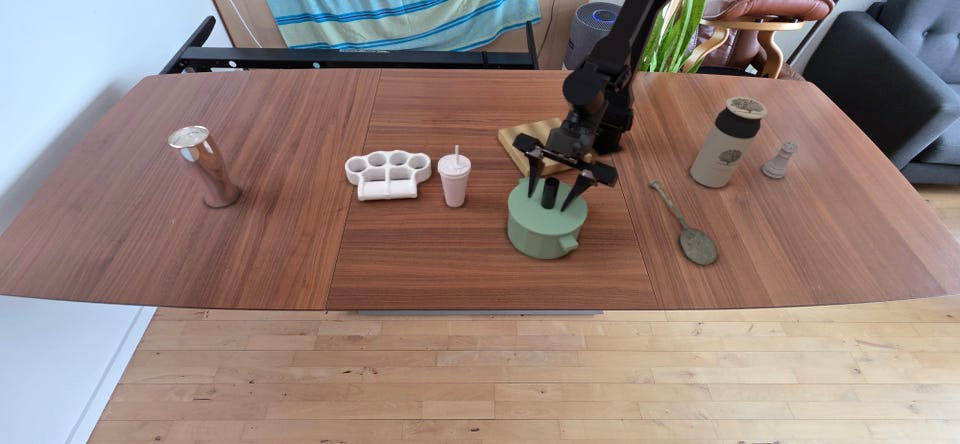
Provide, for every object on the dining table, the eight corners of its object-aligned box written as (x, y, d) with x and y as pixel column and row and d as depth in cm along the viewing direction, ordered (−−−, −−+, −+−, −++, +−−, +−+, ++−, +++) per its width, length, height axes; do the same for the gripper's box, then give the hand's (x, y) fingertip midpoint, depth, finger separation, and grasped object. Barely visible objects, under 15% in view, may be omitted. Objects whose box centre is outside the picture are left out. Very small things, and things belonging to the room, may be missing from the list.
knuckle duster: (343, 205, 87) (350, 160, 96) (433, 200, 88) (430, 156, 98) (340, 193, 84) (347, 148, 94) (432, 188, 86) (429, 144, 96)
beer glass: (248, 190, 89) (218, 129, 78) (224, 212, 84) (189, 151, 73) (221, 182, 90) (188, 121, 79) (196, 204, 86) (157, 142, 75)
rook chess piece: (782, 170, 99) (802, 141, 93) (782, 181, 96) (803, 153, 90) (761, 164, 100) (779, 136, 94) (761, 175, 97) (780, 147, 91)
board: (556, 125, 108) (557, 117, 106) (589, 163, 98) (591, 155, 96) (497, 138, 104) (498, 129, 102) (526, 179, 94) (528, 170, 92)
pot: (549, 193, 91) (554, 167, 86) (597, 258, 79) (606, 233, 74) (491, 208, 87) (493, 182, 82) (532, 279, 76) (537, 254, 70)
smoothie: (466, 214, 86) (467, 158, 76) (435, 208, 87) (432, 153, 76) (473, 192, 90) (474, 137, 80) (443, 188, 91) (441, 133, 81)
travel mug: (689, 162, 100) (724, 92, 87) (726, 170, 98) (767, 100, 85) (689, 183, 94) (726, 112, 81) (727, 192, 93) (771, 121, 80)
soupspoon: (687, 269, 79) (719, 266, 80) (696, 258, 76) (728, 255, 78) (639, 186, 93) (666, 184, 94) (644, 174, 90) (672, 173, 92)
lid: (561, 175, 85) (567, 149, 80) (601, 226, 76) (611, 199, 71) (495, 192, 81) (497, 165, 76) (528, 247, 72) (533, 220, 67)
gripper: (522, 90, 70) (484, 178, 72) (632, 128, 64) (589, 223, 65) (537, 111, 81) (504, 187, 82) (634, 144, 74) (596, 226, 76)
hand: (545, 204), depth 76 cm, fingers open, 6 cm apart
